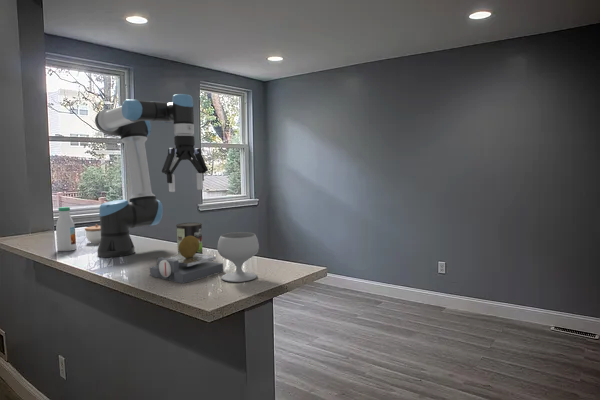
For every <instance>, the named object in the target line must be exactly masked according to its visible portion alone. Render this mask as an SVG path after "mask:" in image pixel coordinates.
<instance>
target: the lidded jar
mask: <svg viewBox="0 0 600 400" xmlns="http://www.w3.org/2000/svg"><path fill="white" fill-rule="evenodd" d="M84 231H85V236H86V237H85V238H86V239H87V241H88V242H89V243H90V244H99V243H100V240H101V229H100V225H98V223H95V225H93V226H87V227H85V228H84Z"/></svg>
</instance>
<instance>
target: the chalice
mask: <svg viewBox="0 0 600 400" xmlns="http://www.w3.org/2000/svg"><path fill="white" fill-rule="evenodd" d="M259 250H260V244H259V239H258V237H257V235H256V233H254V232H250V231H235V232H226V233H223V234H221V235H220V237H219V239H218V242H217V252H218V254H219V256H220V257H222V258H223V259H226V260H228V261H230V263H231V262H232V263H233V264H234V266H235V268H236V269H235V271H234V272H230V273H229V272H228V273H226V274H224V275H222V276H221V277H220V279H221V280H222V281H225V282H229V283H241V282H242V283H243V282H249V281H252V280H255V279H256V278H258V275H257V274H256V273H254V272H250V271H243V269H242V268H243V265H244V263H245V262H247V261H248V260H250V259H251V258H252V257H255V255H257V253H258V252H259Z"/></svg>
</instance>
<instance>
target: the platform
mask: <svg viewBox="0 0 600 400" xmlns="http://www.w3.org/2000/svg"><path fill="white" fill-rule="evenodd" d="M210 255H211V254H204V253H203V254H199V253H195V255H194V256H193V257H191V258H185V257H183V256H182V255H179V256H178V255H176V256H171V257H168V258H169V259H174V260H178V261H179V265H182V266H187V267H188V266H192V265H195V264H199V263H203V262H207V261H211V260H212V261H215V260H217V256H215V255H212V256H210Z"/></svg>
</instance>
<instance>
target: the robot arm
mask: <svg viewBox="0 0 600 400" xmlns="http://www.w3.org/2000/svg"><path fill="white" fill-rule="evenodd" d="M194 114H195V113H194V99H193V97H192V95H190V94H186V93H177V94H173V95H172V101H171V102H170V101H169V102H165V101H153V100H152V101H151V100H141V99H135V98H133V99H125V100H123V102H122V105H120V106H118V107H115V108H113V109H111V108H106V109H102V110H101V111H99V112H98V113H97V114H96V116H95V118H94V123H95V124H94V125H95V126H96V127H97V129H98V130H99V131H100V132H101V133H103V134H104V135H107V136H112V137H120V142H122V143H123V144H124V145H125V146H124V147H125V152H126V159H127V168H128V175H129V181H130V188H131V196H130V197H129V200H127V199H115V200H110V201H105V202H103V203H101V204H100V206H99V214H98V216H99V226H100V229H101V240H100V243H98V247H97V251H96V252H97V256H98V257H101V258H116V257H125V256H129V255H132V254H134V253H135V251H136V250H135V248H136V247H135V245H134V242H133V240H132V238H131V233H130V229H135V228H142V227H143V228H144V227H152V226H156V225H159V224H160V222H161V221H162V217H163V213H164V212H163V211H164V210H163V209H164V206H163V204H162V202H161V201H160V200H159V199H157V197H156V196H157V195H155V194H154V193H153V192H152V184H151V178H150V173H149V172H150V169H149V164H148V157H147V150H146V141H148V137H149V136H151V130H152V126H151V122H162V123H169V124H171V123H173V135H174V137H173V139H174V146H175V147H169V148H168V150H167V156H166V158H165V161H164V164H163V165H162V169H161V173H162V174H165V175H166V182H167V183H168V192H169V193H176V178H175V176H176V175H175V174H174V172H175V171H176V169H177V167H178V166H179V164H180V162H182V161H190V164H191V165H192V166H193V167H194V169H195V170H196V172H197V173H196V188H197V189H196V190H198V191H200V190H204V181H205V177H204V176H205V175H204V174H206V172H208V167H207V164H206V162H205V160H204V156H203V155H202V151H201V148H199V147H198V148H196V147H194V146H195V142H196V140H195V136H194V135H195V121H194V119H195V118H194Z"/></svg>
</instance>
